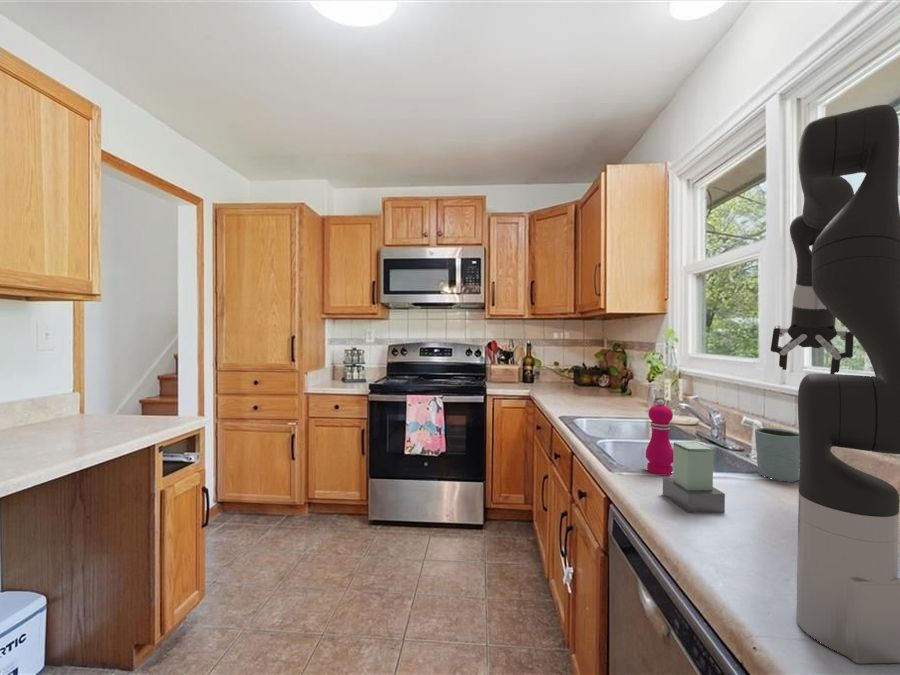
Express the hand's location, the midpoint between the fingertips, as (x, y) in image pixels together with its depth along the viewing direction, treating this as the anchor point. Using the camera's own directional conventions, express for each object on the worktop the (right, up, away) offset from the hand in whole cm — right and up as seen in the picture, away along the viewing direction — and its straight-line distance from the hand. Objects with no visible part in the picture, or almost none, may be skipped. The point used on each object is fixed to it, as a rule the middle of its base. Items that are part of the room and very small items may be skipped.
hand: (807, 371), depth 97 cm
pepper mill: (-26, -29, +18) cm, 43 cm away
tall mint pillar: (-29, -26, -3) cm, 39 cm away
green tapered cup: (+4, -30, +15) cm, 33 cm away
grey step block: (-29, -30, -3) cm, 42 cm away
